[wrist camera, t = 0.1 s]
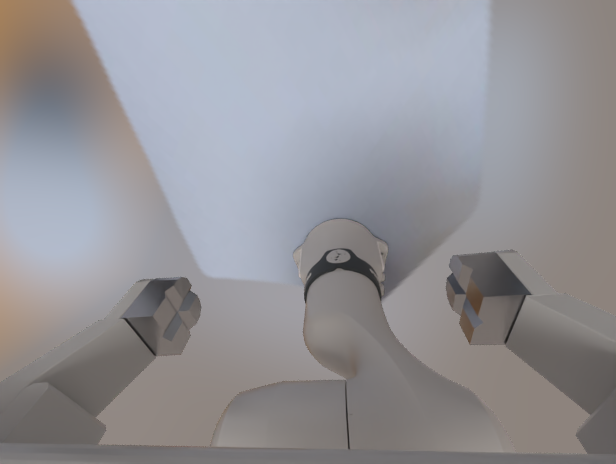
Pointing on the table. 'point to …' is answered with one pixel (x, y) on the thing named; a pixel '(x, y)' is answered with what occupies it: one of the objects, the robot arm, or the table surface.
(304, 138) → the table surface
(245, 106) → the table surface
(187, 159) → the table surface
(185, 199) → the table surface
